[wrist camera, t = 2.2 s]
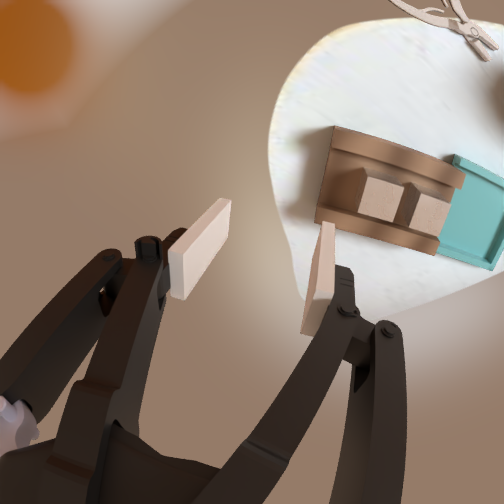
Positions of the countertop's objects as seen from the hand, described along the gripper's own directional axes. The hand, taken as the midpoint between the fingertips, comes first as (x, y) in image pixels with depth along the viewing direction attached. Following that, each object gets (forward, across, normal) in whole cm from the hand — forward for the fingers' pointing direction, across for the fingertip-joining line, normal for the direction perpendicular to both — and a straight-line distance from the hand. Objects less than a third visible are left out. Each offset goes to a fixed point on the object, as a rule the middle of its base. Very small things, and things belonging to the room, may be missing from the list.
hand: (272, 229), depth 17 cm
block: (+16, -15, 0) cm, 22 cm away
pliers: (+19, -15, -26) cm, 36 cm away
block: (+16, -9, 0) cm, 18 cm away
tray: (+19, -26, 0) cm, 32 cm away
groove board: (+19, -11, 0) cm, 22 cm away
